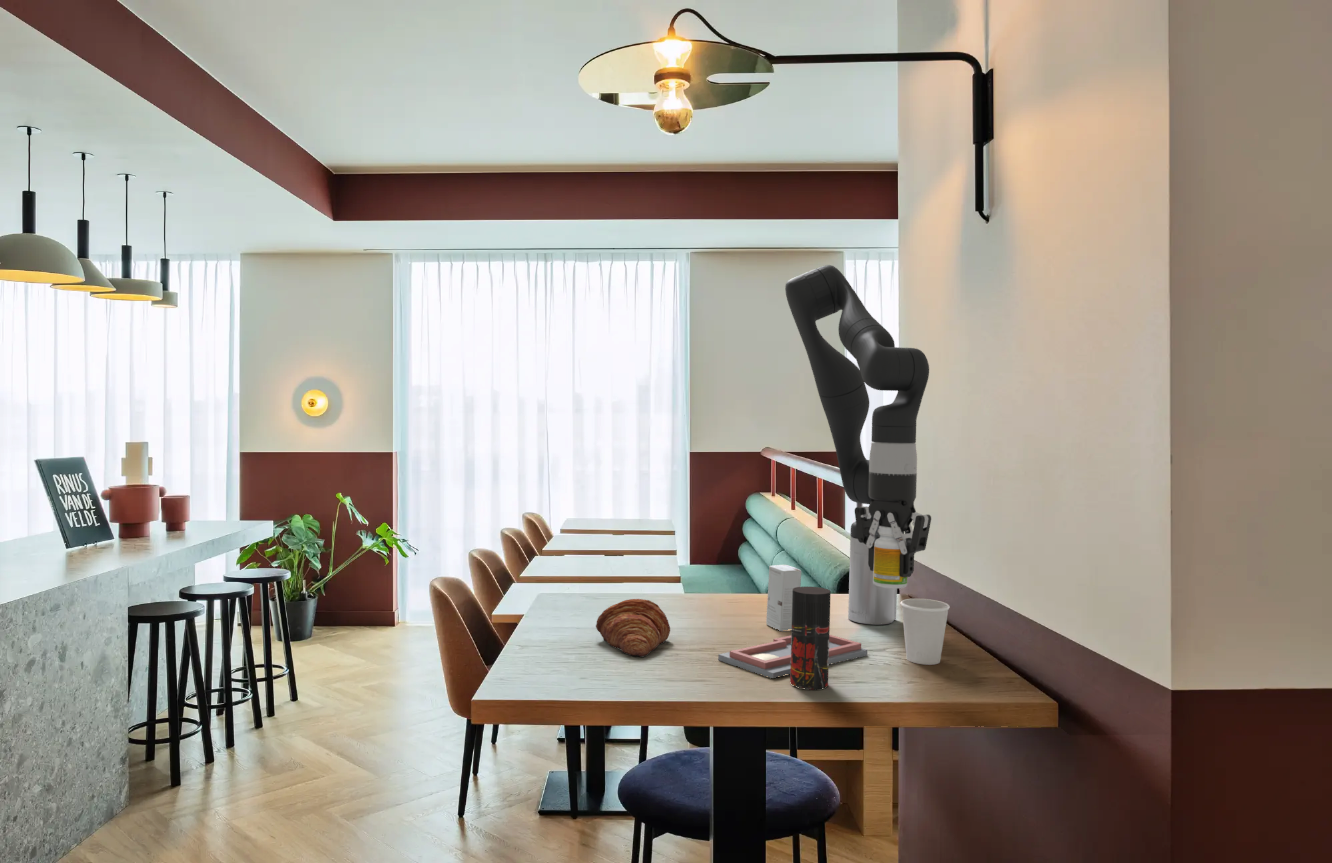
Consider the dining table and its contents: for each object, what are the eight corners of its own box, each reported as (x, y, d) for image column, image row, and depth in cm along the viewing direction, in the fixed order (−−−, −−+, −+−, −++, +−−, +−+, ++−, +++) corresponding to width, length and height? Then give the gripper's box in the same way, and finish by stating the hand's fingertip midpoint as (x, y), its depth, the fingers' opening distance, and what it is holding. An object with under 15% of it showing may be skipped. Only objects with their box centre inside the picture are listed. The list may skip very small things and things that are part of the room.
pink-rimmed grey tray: (812, 639, 168) (812, 628, 168) (867, 655, 158) (867, 644, 158) (718, 660, 153) (718, 648, 153) (772, 679, 143) (773, 666, 143)
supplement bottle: (907, 589, 142) (909, 529, 141) (873, 587, 143) (874, 527, 142) (906, 583, 147) (908, 524, 146) (873, 581, 148) (874, 523, 148)
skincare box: (765, 624, 179) (766, 564, 178) (784, 623, 180) (786, 563, 180) (780, 632, 173) (782, 570, 173) (800, 630, 175) (802, 569, 174)
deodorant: (786, 678, 143) (788, 586, 143) (822, 678, 144) (825, 586, 143) (794, 690, 138) (797, 594, 137) (832, 690, 138) (835, 594, 138)
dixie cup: (947, 669, 151) (948, 610, 150) (896, 663, 153) (898, 605, 153) (949, 656, 158) (951, 600, 158) (901, 651, 161) (902, 596, 161)
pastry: (696, 644, 164) (697, 601, 164) (638, 660, 153) (639, 614, 152) (631, 627, 175) (632, 587, 175) (573, 641, 164) (574, 598, 164)
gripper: (944, 472, 141) (941, 578, 141) (872, 466, 152) (870, 564, 153) (915, 474, 136) (912, 584, 137) (843, 467, 148) (841, 568, 148)
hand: (890, 573), depth 145 cm, fingers closed on supplement bottle, 5 cm apart
